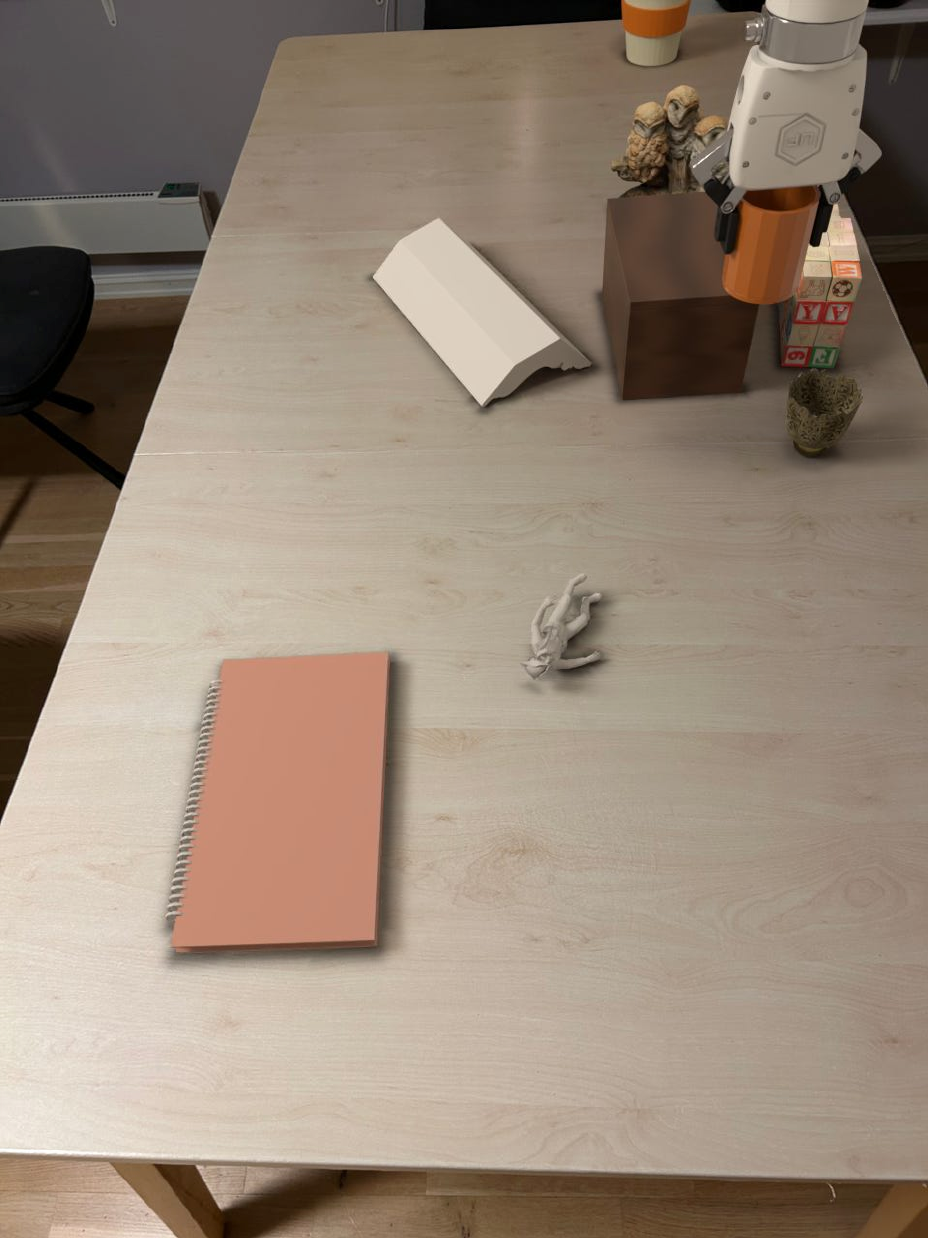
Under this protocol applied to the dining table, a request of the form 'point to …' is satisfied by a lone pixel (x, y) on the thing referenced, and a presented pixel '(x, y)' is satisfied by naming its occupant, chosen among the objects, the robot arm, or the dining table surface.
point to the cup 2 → (820, 410)
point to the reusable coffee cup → (653, 29)
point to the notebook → (287, 807)
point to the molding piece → (471, 313)
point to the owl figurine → (669, 145)
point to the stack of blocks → (821, 299)
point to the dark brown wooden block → (672, 299)
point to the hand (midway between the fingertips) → (768, 241)
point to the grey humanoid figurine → (558, 632)
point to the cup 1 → (770, 244)
